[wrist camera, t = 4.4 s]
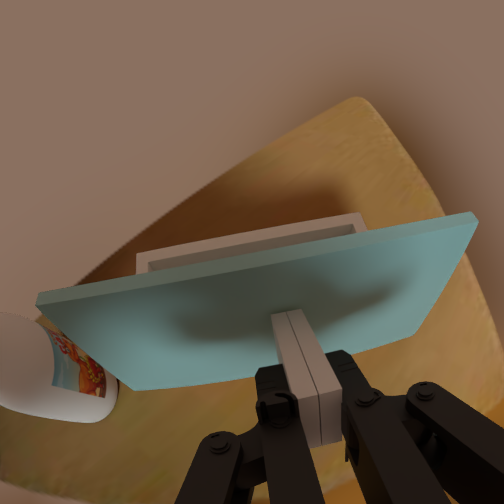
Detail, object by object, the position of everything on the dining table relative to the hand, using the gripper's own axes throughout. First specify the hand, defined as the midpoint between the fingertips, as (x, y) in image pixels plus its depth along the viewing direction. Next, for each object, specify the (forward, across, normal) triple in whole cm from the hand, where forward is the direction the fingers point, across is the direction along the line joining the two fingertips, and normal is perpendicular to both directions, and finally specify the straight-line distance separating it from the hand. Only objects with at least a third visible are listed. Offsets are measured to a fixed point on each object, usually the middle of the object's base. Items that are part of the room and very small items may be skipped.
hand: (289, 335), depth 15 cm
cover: (+3, -1, 0) cm, 3 cm away
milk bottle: (+10, -20, -9) cm, 24 cm away
